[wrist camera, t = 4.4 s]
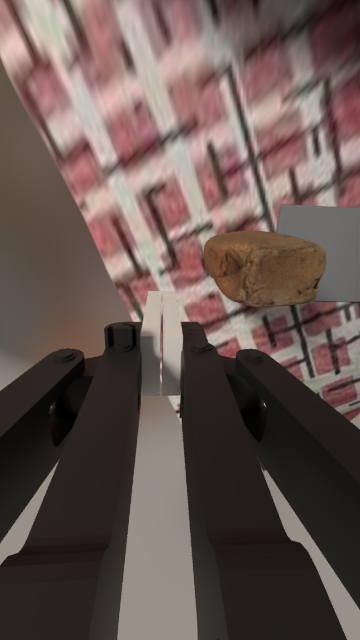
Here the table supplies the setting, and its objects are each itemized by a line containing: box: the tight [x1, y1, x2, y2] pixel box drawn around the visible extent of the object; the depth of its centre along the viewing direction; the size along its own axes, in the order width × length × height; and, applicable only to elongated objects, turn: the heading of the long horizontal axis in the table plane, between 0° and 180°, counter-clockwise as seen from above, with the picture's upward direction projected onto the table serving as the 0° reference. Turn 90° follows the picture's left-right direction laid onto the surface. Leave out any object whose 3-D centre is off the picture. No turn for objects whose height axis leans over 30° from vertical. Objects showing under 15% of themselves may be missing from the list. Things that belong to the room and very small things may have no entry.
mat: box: [276, 205, 360, 302], centre depth 47 cm, size 22×16×1 cm
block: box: [204, 231, 326, 307], centre depth 36 cm, size 11×8×20 cm
